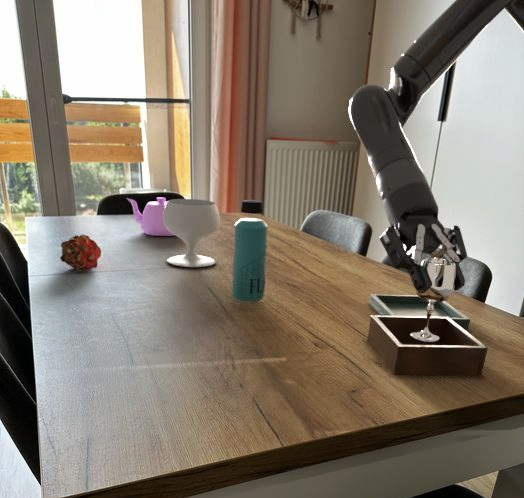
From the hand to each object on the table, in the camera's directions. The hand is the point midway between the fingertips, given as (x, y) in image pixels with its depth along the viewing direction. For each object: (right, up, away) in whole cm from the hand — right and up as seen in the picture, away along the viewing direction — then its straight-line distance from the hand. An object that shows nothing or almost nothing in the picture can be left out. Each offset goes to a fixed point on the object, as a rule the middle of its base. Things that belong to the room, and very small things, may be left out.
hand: (442, 288), depth 76 cm
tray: (+4, -2, +25) cm, 25 cm away
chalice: (-45, +13, +55) cm, 72 cm away
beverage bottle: (-30, 0, +26) cm, 39 cm away
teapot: (-60, +28, +88) cm, 110 cm away
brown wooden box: (-1, -10, +6) cm, 12 cm away
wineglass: (-1, -7, +5) cm, 9 cm away
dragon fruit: (-69, +10, +44) cm, 82 cm away
